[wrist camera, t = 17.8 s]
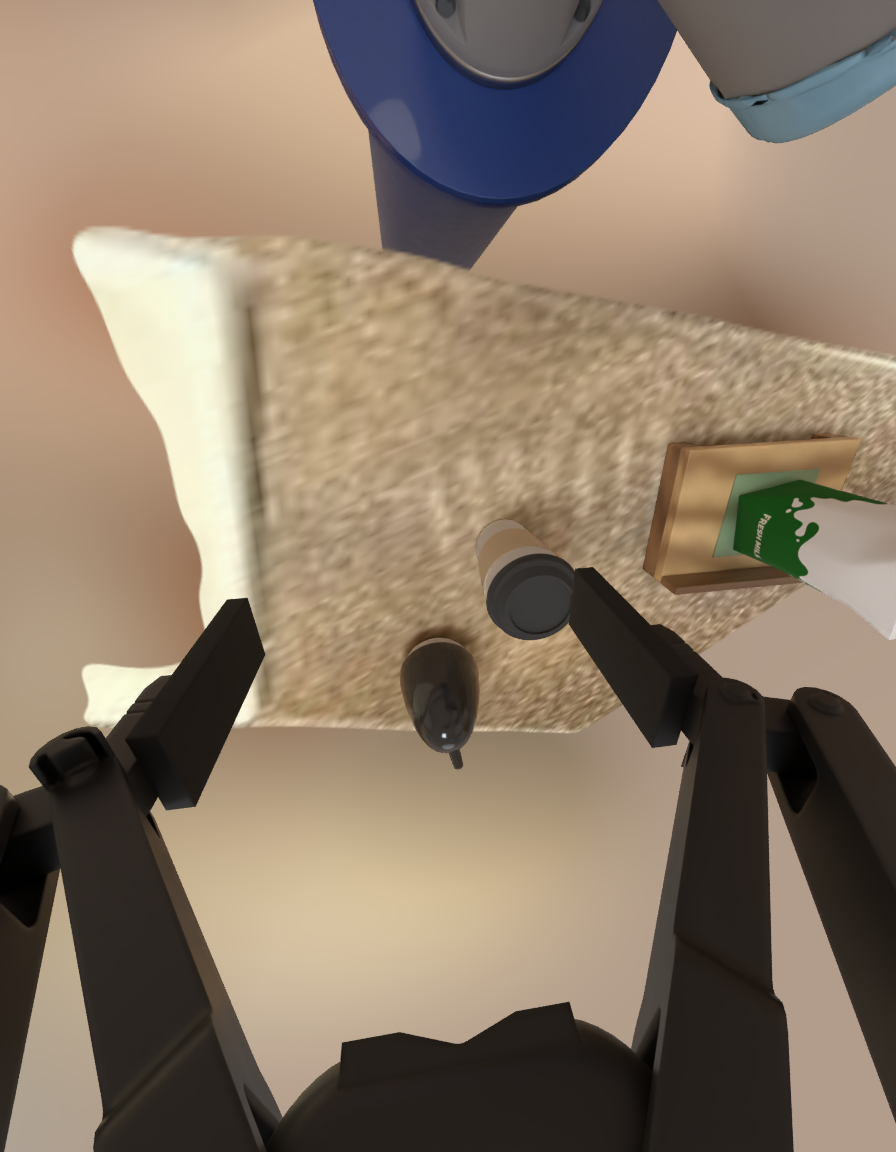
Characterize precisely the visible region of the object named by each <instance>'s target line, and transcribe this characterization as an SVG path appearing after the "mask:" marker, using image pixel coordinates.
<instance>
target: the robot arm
mask: <svg viewBox="0 0 896 1152" xmlns="http://www.w3.org/2000/svg"><path fill="white" fill-rule="evenodd" d="M410 1H411V4H412V6H413V9H414V11H415V13H416V15H417V18H418V20H419V22H420V24H421V26H422V28H423V29H424V31H425V33H426V35H427V36H428V38H429V39H430V41H431V43H432V44H433V46H434V47H435V48H436V49H437V51H438V52H439V53H440V55H441V56H442V57H443V58H444V59H445V60H446V61H447V62H448V63H449V64H450V65H451V66H452V67H453V68H454V69H455V70H456V71H457V72H459V73H460V74H462V75H463V76H465V77H466V78H468V79H469V80H471V81H473V82H475V83H477V84H480V85H482V86H485V87H489V88H493V89H503V90H508V89H517V88H522V87H526V86H529V85H531V84H534V83H536V82H538V81H540V80H542V79H543V78H545V77H546V76H548V75H549V74H551V73H552V72H553V71H555V70H556V69H557V68H558V67H559V66H560V65H561V64H562V63H563V62H564V61H565V60H566V59H567V58H568V57H569V56H570V55H571V53H572V52H573V51H574V50H575V48H576V47H577V45H578V44H579V42H580V41H581V39H582V38H583V36H584V35H585V33H586V31H587V29H588V28H589V26H590V24H591V22H592V20H593V19H594V17H595V15H596V13H597V11H598V9H599V7H600V5H601V3H602V1H603V0H410ZM658 2H659V3H660V5H661V6H662V8H663V9H664V11H665V12H666V14H667V16H668V17H669V19H670V20H671V22H672V23H673V25H674V26H675V28H676V29H677V31H678V32H679V34H680V35H681V37H682V38H683V40H684V41H685V43H686V44H687V45H688V47H689V49H690V50H691V52H692V53H693V55H694V56H695V58H696V59H697V61H698V62H699V64H700V65H701V67H702V68H703V70H704V71H705V73H706V74H707V76H708V77H709V79H710V90H711V92H712V94H713V96H714V98H715V99H716V101H718V102H719V103H721V104H723V105H724V106H726V107H729V108H730V110H731V111H732V112H733V113H734V115H735V116H736V117H737V119H738V120H739V121H740V123H741V124H742V125H743V127H744V128H745V129H746V131H747V132H748V133H749V134H750V135H751V136H752V137H754V138H755V139H757V140H764V141H766V142H773V143H783V142H788V141H792V140H796V139H799V138H802V137H805V136H808V135H810V134H813V133H815V132H818V131H820V130H822V129H824V128H826V127H828V126H830V125H832V124H834V123H836V122H837V121H839V120H841V119H843V118H845V117H846V116H848V115H850V114H852V113H853V112H855V111H857V110H858V109H860V108H862V107H863V106H865V105H867V104H868V103H870V102H872V101H873V100H875V99H876V98H878V97H879V96H880V95H882V94H883V93H885V92H887V91H888V90H890V89H891V88H892V87H894V86H895V85H896V0H658ZM569 625H570V627H571V628H572V630H573V631H574V633H575V634H576V636H577V637H578V639H579V640H580V642H581V643H582V645H583V646H584V648H585V649H586V651H587V652H588V653H589V655H590V656H591V658H592V659H593V661H594V662H595V664H596V665H597V667H598V668H599V670H600V671H601V673H602V674H603V676H604V677H605V679H606V680H607V682H608V683H609V685H610V686H611V688H612V689H613V691H614V692H615V694H616V695H617V696H618V698H619V699H620V701H621V702H622V704H623V705H624V707H625V708H626V710H627V711H628V713H629V714H630V716H631V717H632V719H633V720H634V722H635V723H636V725H637V726H638V728H639V729H640V731H641V732H642V734H643V735H644V736H645V738H646V739H647V741H648V742H649V744H650V745H651V747H652V748H655V747H663V746H670V745H676V744H677V741H678V738H679V735H680V732H681V731H682V732H683V733H684V734H685V736H686V737H687V738H688V739H689V744H688V747H687V750H686V753H685V756H684V759H683V762H682V765H681V767H684V768H683V774H682V780H681V786H680V791H679V797H678V803H677V808H676V814H675V820H674V825H673V831H672V838H671V843H670V848H669V854H668V860H667V866H666V871H665V877H664V883H663V889H662V894H661V900H660V906H659V911H658V917H657V923H656V929H655V934H654V940H653V946H652V951H651V957H650V963H649V968H648V974H647V980H646V986H645V992H644V996H643V1000H642V1004H641V1008H640V1012H639V1016H638V1019H637V1024H636V1028H635V1032H634V1037H633V1042H632V1047H631V1049H630V1048H629V1047H628V1046H627V1045H626V1044H624V1043H623V1042H622V1041H620V1040H619V1039H617V1038H616V1037H615V1036H613V1035H612V1034H610V1033H608V1032H606V1031H604V1030H603V1029H601V1028H599V1027H597V1026H595V1025H592V1024H589V1023H587V1022H584V1021H582V1020H577V1019H574V1017H573V1013H572V1009H571V1006H570V1003H569V1002H566V1003H560V1004H555V1005H549V1006H543V1007H538V1008H532V1009H527V1010H522V1011H516V1012H514V1013H512V1014H511V1015H509V1016H508V1017H506V1018H504V1019H502V1020H501V1021H499V1022H498V1023H496V1024H494V1025H493V1026H491V1027H489V1028H488V1029H486V1030H484V1031H483V1032H481V1033H480V1034H478V1035H477V1036H475V1037H473V1038H471V1039H470V1040H468V1041H466V1042H464V1043H461V1044H453V1043H449V1042H443V1041H439V1040H434V1039H430V1038H425V1037H419V1036H415V1035H410V1034H405V1033H401V1032H398V1033H393V1034H387V1035H382V1036H376V1037H371V1038H365V1039H360V1040H354V1041H349V1042H343V1043H342V1050H341V1061H340V1062H339V1063H337V1064H336V1065H334V1066H332V1067H331V1068H330V1069H328V1070H327V1071H326V1072H324V1073H323V1074H322V1075H321V1076H319V1077H318V1078H317V1079H316V1080H315V1081H314V1082H313V1083H312V1084H311V1085H310V1086H309V1087H308V1088H307V1089H306V1090H305V1091H304V1092H303V1093H302V1094H301V1095H300V1096H299V1098H298V1099H297V1100H296V1101H295V1103H294V1104H293V1105H292V1106H291V1107H290V1108H289V1110H288V1111H287V1113H286V1114H285V1116H284V1117H282V1115H281V1113H280V1110H279V1108H278V1106H277V1104H276V1101H275V1099H274V1097H273V1095H272V1093H271V1091H270V1089H269V1087H268V1085H267V1083H266V1081H265V1080H264V1078H263V1076H262V1074H261V1072H260V1070H259V1068H258V1066H257V1063H256V1061H255V1059H254V1057H253V1054H252V1052H251V1049H250V1047H249V1045H248V1042H247V1040H246V1037H245V1035H244V1033H243V1030H242V1028H241V1025H240V1023H239V1020H238V1018H237V1016H236V1013H235V1011H234V1009H233V1006H232V1004H231V1001H230V999H229V996H228V994H227V992H226V989H225V987H224V984H223V982H222V980H221V977H220V975H219V973H218V970H217V968H216V965H215V963H214V960H213V958H212V956H211V953H210V951H209V949H208V946H207V943H206V941H205V939H204V936H203V934H202V931H201V929H200V927H199V924H198V922H197V919H196V917H195V915H194V912H193V910H192V907H191V905H190V903H189V901H188V898H187V896H186V893H185V891H184V888H183V886H182V883H181V881H180V879H179V876H178V874H177V871H176V869H175V867H174V864H173V862H172V859H171V857H170V855H169V852H168V850H167V847H166V845H165V842H164V840H163V838H162V835H161V833H160V830H159V828H158V826H157V823H156V821H155V818H154V817H153V815H152V814H151V812H150V810H151V808H152V807H153V805H154V803H155V801H156V800H157V798H158V797H159V799H160V801H161V802H162V804H163V806H164V808H165V809H166V810H172V809H180V808H188V807H195V806H196V804H197V802H198V800H199V798H200V796H201V793H202V791H203V789H204V787H205V785H206V783H207V780H208V778H209V776H210V774H211V772H212V769H213V767H214V765H215V763H216V761H217V759H218V756H219V754H220V752H221V750H222V748H223V745H224V743H225V741H226V739H227V737H228V734H229V732H230V730H231V728H232V726H233V724H234V722H235V719H236V717H237V715H238V713H239V711H240V708H241V706H242V704H243V702H244V700H245V698H246V695H247V693H248V691H249V689H250V687H251V685H252V682H253V680H254V678H255V676H256V674H257V671H258V669H259V667H260V665H261V663H262V661H263V658H264V656H265V652H264V649H263V646H262V643H261V639H260V636H259V633H258V630H257V626H256V623H255V620H254V617H253V614H252V610H251V607H250V604H249V601H248V598H240V599H229V600H226V602H225V603H224V604H223V606H222V607H221V609H220V610H219V611H218V613H217V614H216V615H215V617H214V618H213V619H212V621H211V622H210V624H209V625H208V626H207V628H206V629H205V630H204V632H203V633H202V635H201V636H200V637H199V639H198V640H197V641H196V643H195V644H194V645H193V647H192V648H191V649H190V651H189V652H188V654H187V655H186V656H185V658H184V659H183V660H182V662H181V663H180V664H179V666H178V667H177V669H176V670H175V671H174V673H173V674H172V675H168V676H160V677H159V678H158V679H157V680H155V681H154V682H153V683H151V684H150V685H149V686H147V687H146V688H145V689H144V690H143V692H142V693H141V694H140V695H139V697H138V698H137V699H136V701H135V704H132V706H131V707H130V708H129V709H128V711H127V714H126V715H124V716H123V717H122V718H121V720H120V721H119V722H118V723H117V725H116V726H115V727H114V728H113V730H112V731H111V732H110V734H109V735H108V736H107V737H106V739H105V737H104V735H103V734H102V732H101V731H100V730H99V729H98V728H97V727H89V726H87V727H82V728H76V729H74V730H71V731H68V732H66V733H63V734H61V735H59V736H58V737H56V738H54V739H52V740H51V741H49V742H48V743H47V744H45V745H44V746H43V747H42V748H40V749H39V750H38V751H37V752H36V753H35V755H34V756H33V757H32V758H31V760H30V764H29V768H30V770H31V771H32V772H33V774H34V775H35V776H36V777H37V779H38V780H39V781H40V782H41V783H42V785H43V786H41V787H38V788H35V789H32V790H29V791H26V792H24V793H21V794H18V795H15V796H13V795H12V794H11V793H10V792H9V791H8V790H7V789H6V788H5V787H3V786H2V785H0V1152H4V1149H5V1144H6V1139H7V1134H8V1129H9V1124H10V1119H11V1114H12V1109H13V1104H14V1099H15V1094H16V1089H17V1084H18V1079H19V1074H20V1069H21V1064H22V1059H23V1053H24V1048H25V1043H26V1038H27V1033H28V1028H29V1023H30V1018H31V1013H32V1008H33V1003H34V998H35V993H36V988H37V983H38V978H39V973H40V967H41V963H42V957H43V952H44V947H45V942H46V937H47V932H48V927H49V922H50V917H51V912H52V907H53V902H54V897H55V892H56V886H57V881H58V877H59V871H60V869H61V873H62V878H63V884H64V889H65V895H66V901H67V906H68V912H69V918H70V924H71V929H72V934H73V940H74V946H75V952H76V957H77V963H78V969H79V974H80V980H81V986H82V991H83V996H84V1002H85V1008H86V1013H87V1019H88V1025H89V1031H90V1036H91V1041H92V1047H93V1053H94V1059H95V1065H96V1070H97V1076H98V1081H99V1087H100V1092H101V1098H102V1106H103V1118H102V1122H101V1123H100V1125H99V1127H98V1128H97V1130H96V1132H95V1138H94V1146H93V1149H94V1152H794V1150H793V1130H792V1108H791V1087H790V1065H789V1044H788V1029H787V1019H786V1013H785V1010H784V1006H783V1003H782V1002H781V1001H780V1000H779V999H778V998H777V997H776V996H775V993H774V990H773V984H772V983H773V982H772V954H771V913H770V879H769V878H770V877H769V840H768V839H769V835H768V796H767V774H768V777H769V779H770V782H771V785H772V787H773V790H774V793H775V796H776V798H777V801H778V803H779V807H780V809H781V812H782V815H783V817H784V820H785V823H786V826H787V828H788V831H789V833H790V837H791V839H792V842H793V845H794V847H795V850H796V853H797V856H798V858H799V861H800V864H801V867H802V869H803V872H804V875H805V877H806V880H807V883H808V886H809V888H810V891H811V894H812V896H813V899H814V902H815V904H816V907H817V910H818V913H819V915H820V918H821V921H822V923H823V926H824V929H825V932H826V934H827V937H828V940H829V943H830V945H831V948H832V951H833V954H834V956H835V959H836V962H837V964H838V967H839V970H840V973H841V975H842V978H843V981H844V983H845V986H846V989H847V991H848V994H849V997H850V1000H851V1003H852V1005H853V1008H854V1011H855V1013H856V1016H857V1019H858V1021H859V1024H860V1027H861V1030H862V1032H863V1035H864V1038H865V1041H866V1043H867V1046H868V1049H869V1052H870V1054H871V1057H872V1059H873V1062H874V1065H875V1068H876V1070H877V1073H878V1076H879V1079H880V1081H881V1084H882V1087H883V1090H884V1092H885V1095H886V1098H887V1100H888V1103H889V1106H890V1109H891V1111H892V1114H893V1117H894V1120H895V1122H896V767H895V765H894V764H893V762H892V761H891V759H890V758H889V756H888V755H887V754H886V752H885V751H884V749H883V748H882V746H881V745H880V743H879V742H878V740H877V739H876V738H875V736H874V735H873V733H872V732H871V730H870V729H869V727H868V726H867V724H866V723H865V721H864V720H863V719H862V717H861V716H860V714H859V713H858V711H857V710H856V709H855V708H854V707H853V706H852V705H851V704H850V703H849V702H847V701H846V700H844V699H843V698H841V697H840V696H838V695H836V694H834V693H831V692H829V691H826V690H821V689H818V688H812V687H803V688H799V689H797V690H796V691H795V692H794V694H793V696H792V698H791V700H786V699H778V698H769V697H763V696H761V694H760V693H759V692H758V691H757V690H756V689H754V688H752V687H751V686H749V685H748V684H746V683H743V682H741V681H738V680H735V679H730V678H723V677H722V676H720V675H719V674H718V673H717V672H716V671H715V670H714V669H713V668H712V667H711V666H710V665H709V664H708V663H707V662H706V661H705V660H704V659H702V658H701V657H700V656H699V655H698V654H697V653H696V652H695V651H693V649H692V648H691V647H690V646H689V645H688V644H685V641H684V640H683V639H681V638H680V637H679V636H678V635H677V634H676V633H675V632H674V631H672V630H670V629H668V628H666V627H664V626H663V625H661V624H657V625H650V624H649V623H648V622H647V621H646V620H645V619H644V618H643V617H642V616H641V615H640V614H639V613H638V612H637V611H636V610H635V609H634V608H633V607H632V606H631V605H630V604H629V603H628V602H627V601H626V600H625V599H624V598H623V597H622V596H621V595H620V594H619V593H618V592H617V591H616V590H615V589H614V588H613V587H612V586H611V585H610V584H609V583H608V582H607V581H606V580H605V579H604V578H603V577H602V576H601V575H600V574H599V573H598V572H597V571H596V570H595V569H594V568H593V567H589V568H578V569H575V575H574V584H573V592H572V601H571V609H570V618H569Z"/></svg>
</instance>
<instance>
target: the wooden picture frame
mask: <svg viewBox="0 0 896 1152" xmlns="http://www.w3.org/2000/svg"><path fill="white" fill-rule="evenodd" d="M861 441H862V439H861V438H854V437H848V436H842V435H835V434H814V435H813V436H812V439H807V440H791V441H776V442H761V443H745V444H730V445H714V446H695V445H691V444H687V443H672V444H668V448H667V453H666V458H665V463H664V468H663V473H662V478H661V482H660V487H659V492H658V497H657V502H656V507H655V512H654V517H653V522H652V527H651V531H650V536H649V541H648V546H647V551H646V556H645V561H644V566H643V569H644V570H645V571H646V572H647V573H649V574H650V575H651V576H652V577H654V578H655V579H656V580H657V581H659V582H660V583H661V584H662V585H663V586H665V587H666V588H667V589H668V590H670V591H671V592H672V593H673V594H674V595H679V594H689V593H699V592H710V591H720V590H730V589H741V588H751V587H762V586H772V585H782V584H793V583H803V582H801V581H800V580H798V579H796V578H794V577H792V576H790V575H788V574H786V573H784V572H782V571H781V570H779V569H777V568H775V567H772V566H770V565H768V564H765V563H763V562H761V561H758V560H756V559H753V558H751V557H749V556H746V555H744V554H742V553H739V552H737V551H735V550H733V546H734V538H735V529H736V520H737V512H738V503H739V496H740V495H743V494H747V493H751V492H755V491H759V490H762V489H766V488H770V487H774V486H778V485H781V484H785V483H789V482H793V481H797V480H804V481H808V482H811V483H815V484H819V485H822V486H826V487H829V488H833V489H836V490H840V491H841V489H842V487H843V484H844V482H845V479H846V477H847V475H848V472H849V470H850V467H851V465H852V463H853V460H854V458H855V455H856V453H857V451H858V448H859V446H860V443H861Z"/></svg>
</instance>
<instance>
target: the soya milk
mask: <svg viewBox="0 0 896 1152" xmlns="http://www.w3.org/2000/svg"><path fill="white" fill-rule="evenodd" d="M733 550H735V551H737V552H739V553H742V554H744V555H746V556H749V557H751V558H753V559H756V560H758V561H761V562H763V563H765V564H768V565H770V566H772V567H775V568H777V569H779V570H781V571H782V572H784V573H786V574H788V575H790V576H792V577H794V578H796V579H798V580H800V581H801V582H803V583H805V584H807V585H809V586H811V587H813V588H815V589H817V590H819V591H820V592H822V593H824V594H826V595H828V596H830V597H832V598H834V599H835V600H837V601H839V602H841V603H843V604H845V605H847V606H848V607H850V608H851V609H852V610H853V611H855V612H856V613H857V614H858V615H859V616H861V617H862V618H863V619H864V620H866V621H867V622H868V623H869V624H870V625H871V626H873V627H874V628H875V629H876V630H877V631H879V632H880V633H881V634H882V635H884V636H885V637H886V638H887V639H888V640H891V639H895V638H896V506H894V505H890V504H887V503H883V502H879V501H876V500H872V499H869V498H865V497H861V496H858V495H854V494H851V493H847V492H843V491H840V490H836V489H833V488H829V487H826V486H822V485H819V484H815V483H811V482H808V481H804V480H797V481H793V482H789V483H785V484H781V485H778V486H774V487H770V488H766V489H762V490H759V491H755V492H751V493H747V494H743V495H740V496H739V503H738V512H737V520H736V529H735V538H734V546H733Z"/></svg>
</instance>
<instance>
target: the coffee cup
mask: <svg viewBox="0 0 896 1152" xmlns="http://www.w3.org/2000/svg"><path fill="white" fill-rule="evenodd" d="M476 553H477V558H478V566H479V571H480V576H481V581H482V586H483V591H484V595H485V599H486V605H487V610H488V613H489V615H490V617H491V619H492V621H493V622H494V623H495V624H496V625H497V626H498V627H499V628H501V629H502V630H503V631H504V632H505V633H507V634H508V635H510V636H512V637H515V638H518V639H522V640H537V639H542V638H546V637H548V636H551V635H553V634H555V633H557V632H558V631H560V630H561V629H562V628H563V627H565V626H566V625H567V624H568V622H569V618H570V609H571V601H572V592H573V584H574V575H575V571H574V569H573V568H572V567H571V566H570V565H569V564H568V563H567V562H566V561H565V560H563V559H561V558H560V557H559V556H558V555H557V554H556V553H555V552H554V551H552V550H551V549H550V548H549V547H548V546H547V545H545V544H544V543H543V542H542V541H541V540H539V539H538V538H537V537H536V536H535V535H533V534H532V533H531V532H529V531H528V530H526V529H525V528H524V527H523V526H522V525H521V524H519V523H518V522H516V521H513V520H508V519H502V520H497V521H494V522H492V523H490V524H489V525H487V526H486V527H485V528H484V529H483V530H482V531H481V533H480V534H479V536H478V538H477V542H476Z"/></svg>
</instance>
